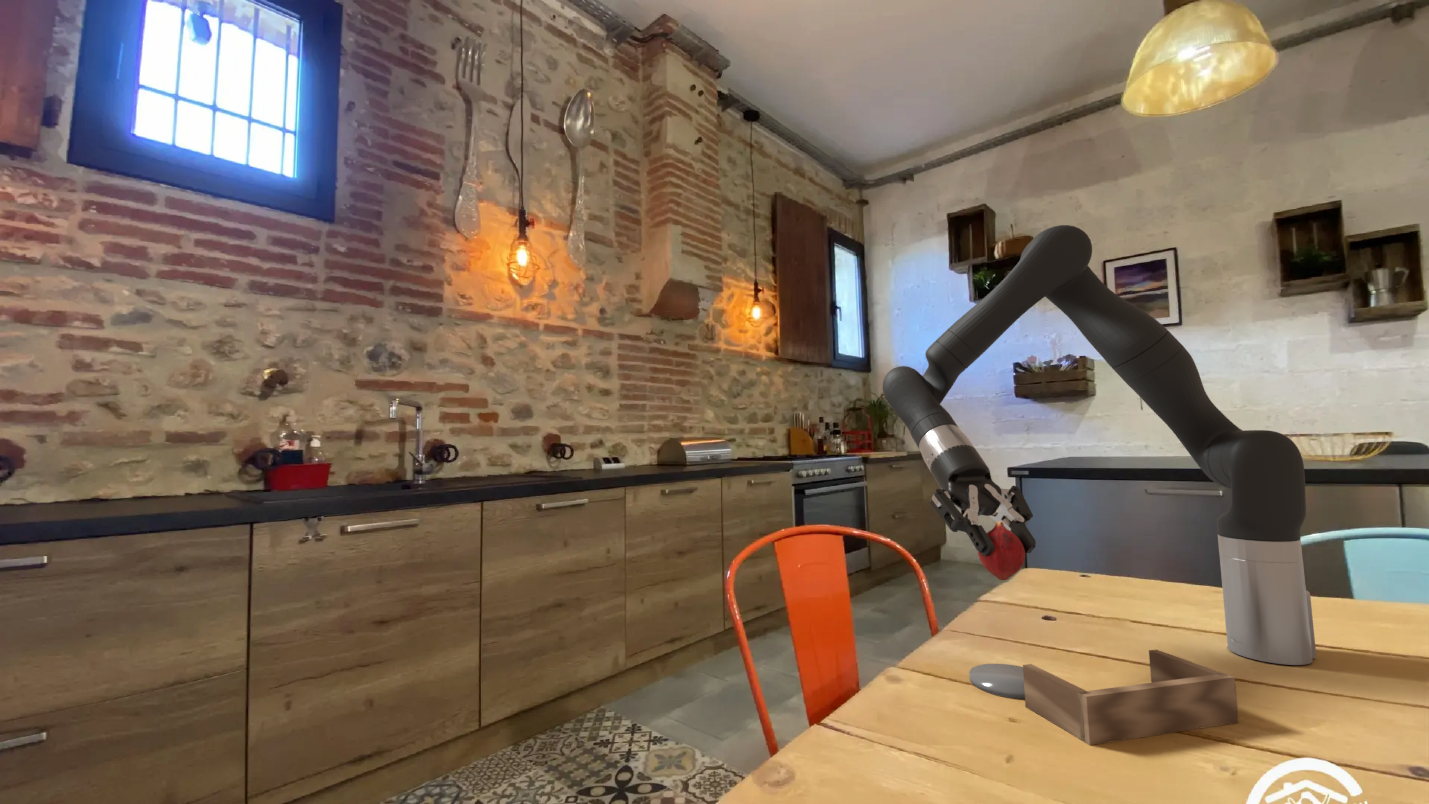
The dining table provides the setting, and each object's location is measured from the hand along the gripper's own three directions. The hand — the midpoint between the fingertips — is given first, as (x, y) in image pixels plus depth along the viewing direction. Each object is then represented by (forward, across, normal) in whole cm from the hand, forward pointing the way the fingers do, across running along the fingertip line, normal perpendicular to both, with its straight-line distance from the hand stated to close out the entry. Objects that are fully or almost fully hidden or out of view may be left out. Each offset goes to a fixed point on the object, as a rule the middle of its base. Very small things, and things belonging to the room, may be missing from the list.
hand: (1010, 551), depth 79 cm
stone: (+12, 0, +14) cm, 18 cm away
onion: (+2, 0, +4) cm, 5 cm away
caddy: (+19, +7, +6) cm, 21 cm away
